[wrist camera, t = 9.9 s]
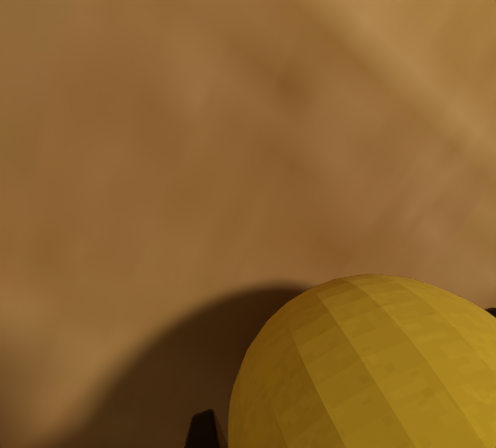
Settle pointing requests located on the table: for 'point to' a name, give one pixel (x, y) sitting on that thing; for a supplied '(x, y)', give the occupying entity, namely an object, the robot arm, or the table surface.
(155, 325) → the table surface
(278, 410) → the lemon
